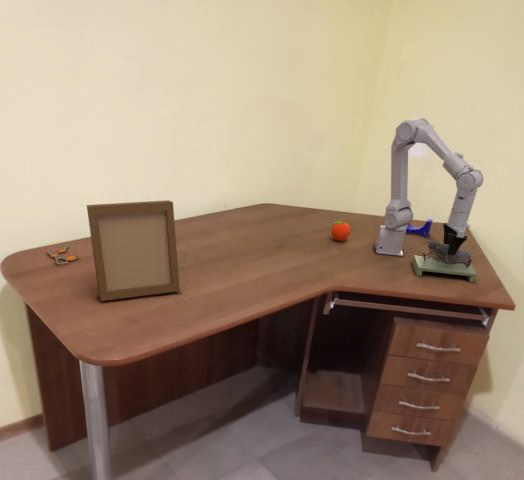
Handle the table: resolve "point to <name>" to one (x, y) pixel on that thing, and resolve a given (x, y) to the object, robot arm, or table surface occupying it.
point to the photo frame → (134, 248)
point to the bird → (441, 255)
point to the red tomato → (340, 231)
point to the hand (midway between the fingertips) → (448, 250)
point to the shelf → (442, 267)
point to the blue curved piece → (420, 229)
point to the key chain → (69, 258)
